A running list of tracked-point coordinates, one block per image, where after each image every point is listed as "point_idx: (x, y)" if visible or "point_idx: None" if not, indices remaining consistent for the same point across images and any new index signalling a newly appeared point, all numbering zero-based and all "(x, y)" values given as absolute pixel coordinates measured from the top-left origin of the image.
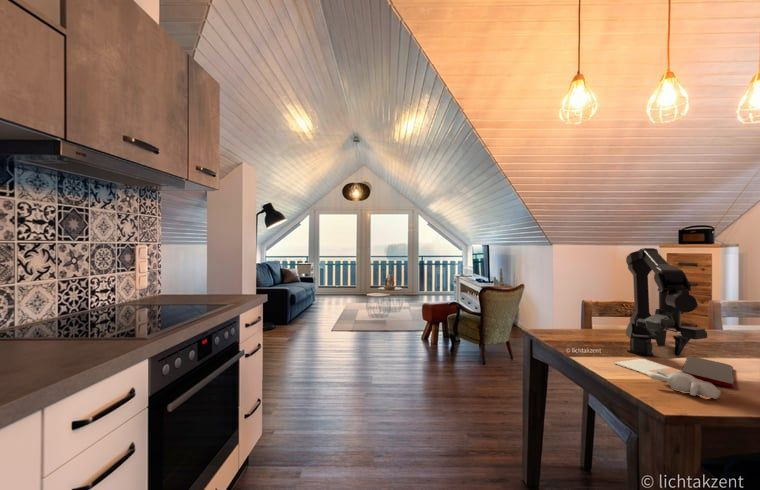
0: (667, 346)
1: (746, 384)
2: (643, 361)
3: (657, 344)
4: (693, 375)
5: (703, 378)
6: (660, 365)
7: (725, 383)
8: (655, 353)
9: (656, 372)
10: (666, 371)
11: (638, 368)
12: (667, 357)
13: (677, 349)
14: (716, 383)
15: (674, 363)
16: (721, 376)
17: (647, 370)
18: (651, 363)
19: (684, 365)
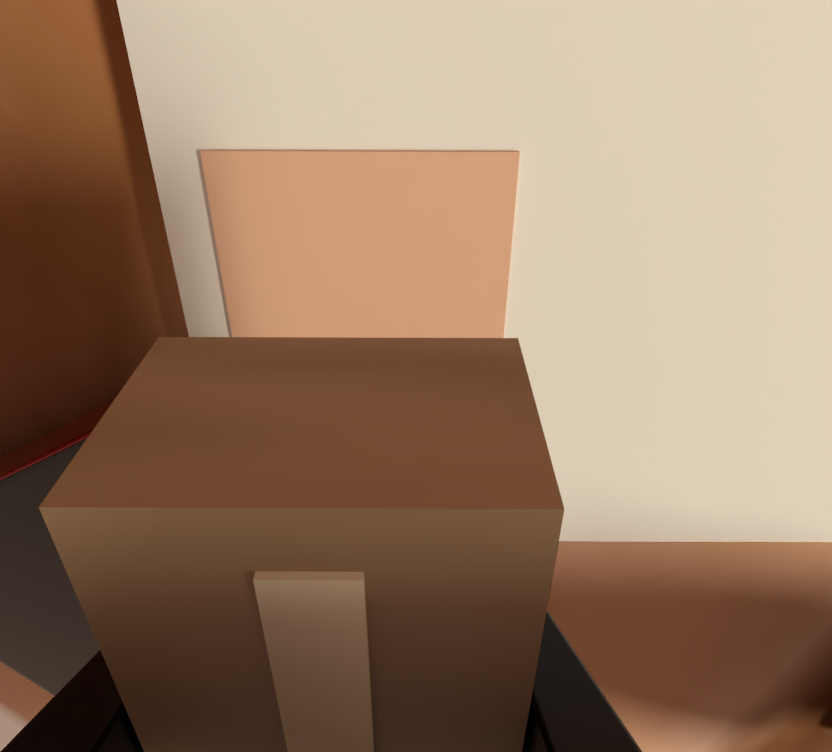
0: (365, 749)
1: (22, 691)
2: (798, 459)
3: (615, 714)
4: (72, 436)
5: (2, 464)
6: (595, 503)
7: None
8: (468, 366)
9: (413, 181)
10: None
11: (678, 75)
12: (148, 362)
13: (36, 723)
14: None
15: (595, 679)
16: (64, 651)
17: (542, 138)
18: (695, 476)
19: None
